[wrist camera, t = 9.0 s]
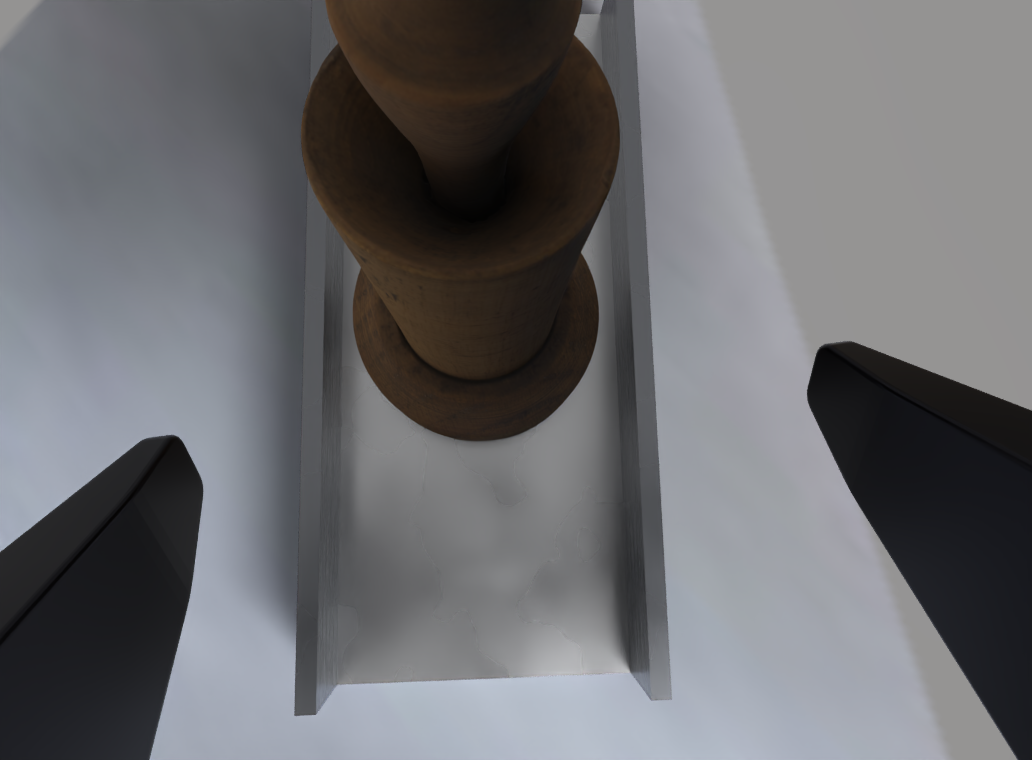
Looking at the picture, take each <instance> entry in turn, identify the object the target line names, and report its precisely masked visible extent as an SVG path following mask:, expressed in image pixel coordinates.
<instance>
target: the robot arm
mask: <svg viewBox="0 0 1032 760" xmlns="http://www.w3.org/2000/svg"><path fill="white" fill-rule="evenodd" d="M807 399H808V403H809V406H810V409H811V411H812V413H813V415H814V417H815V419H816V421H817V423H818V426H819V428H820V430H821V432H822V434H823V436H824V438H825V440H826V442H827V444H828V446H829V449H830V451H831V453H832V455H833V457H834V459H835V461H836V463H837V465H838V467H839V470H840V472H841V474H842V476H843V478H844V480H845V482H846V484H847V485H848V487H849V489H850V491H851V493H852V495H853V496H854V498H855V500H856V501H857V503H858V505H859V507H860V508H861V510H862V511H863V513H864V515H865V516H866V518H867V519H868V521H869V523H870V524H871V526H872V527H873V529H874V531H875V532H876V534H877V535H878V537H879V538H880V540H881V542H882V543H883V545H884V547H885V548H886V550H887V551H888V553H889V555H890V556H891V558H892V559H893V561H894V562H895V564H896V566H897V567H898V569H899V571H900V572H901V574H902V575H903V577H904V579H905V580H906V582H907V583H908V585H909V587H910V588H911V590H912V591H913V593H914V595H915V596H916V598H917V599H918V601H919V603H920V604H921V606H922V607H923V609H924V611H925V612H926V614H927V615H928V617H929V618H930V620H931V622H932V623H933V625H934V627H935V628H936V630H937V631H938V633H939V635H940V636H941V638H942V640H943V641H944V643H945V644H946V646H947V648H948V649H949V651H950V652H951V654H952V655H953V657H954V659H955V660H956V662H957V663H958V665H959V667H960V668H961V670H962V672H963V673H964V675H965V676H966V678H967V680H968V681H969V683H970V684H971V686H972V688H973V689H974V691H975V692H976V694H977V695H978V697H979V699H980V700H981V702H982V704H983V705H984V707H985V708H986V710H987V712H988V713H989V715H990V716H991V718H992V720H993V721H994V723H995V724H996V726H997V728H998V729H999V731H1000V732H1001V734H1002V736H1003V737H1004V739H1005V740H1006V742H1007V743H1008V745H1009V746H1010V748H1011V750H1012V752H1013V753H1014V755H1015V756H1016V758H1017V760H1032V411H1031V410H1029V409H1026V408H1024V407H1021V406H1018V405H1016V404H1013V403H1011V402H1008V401H1006V400H1003V399H1000V398H998V397H995V396H992V395H990V394H987V393H985V392H982V391H980V390H977V389H974V388H972V387H969V386H967V385H964V384H961V383H959V382H956V381H954V380H951V379H948V378H946V377H943V376H940V375H938V374H936V373H932V372H930V371H928V370H925V369H922V368H920V367H917V366H914V365H912V364H910V363H907V362H904V361H902V360H899V359H897V358H894V357H891V356H889V355H886V354H884V353H881V352H878V351H876V350H873V349H871V348H868V347H866V346H863V345H860V344H858V343H855V342H852V341H843V342H836V343H829V344H824V345H823V346H821V347H820V348H819V349H818V351H817V354H816V357H815V361H814V365H813V369H812V373H811V377H810V381H809V385H808V389H807ZM202 500H203V484H202V480H201V477H200V475H199V473H198V471H197V469H196V467H195V465H194V463H193V461H192V459H191V457H190V455H189V453H188V451H187V449H186V447H185V445H184V443H183V442H182V440H181V439H180V438H179V437H177V436H175V435H166V436H159V437H152V438H146V439H144V440H142V441H140V442H139V443H138V444H136V445H135V446H134V447H133V448H131V449H130V450H129V451H128V452H126V453H125V454H124V455H122V456H121V457H120V458H119V459H117V460H116V461H115V462H114V463H112V464H111V465H110V466H109V467H107V468H106V469H105V470H103V471H102V472H101V473H100V474H98V475H97V476H96V477H95V478H93V479H92V480H91V481H90V482H88V483H87V484H86V485H85V486H83V487H82V488H81V489H79V490H78V491H77V492H76V493H74V494H73V495H72V496H71V497H69V498H68V499H67V500H66V501H64V502H63V503H62V504H60V505H59V506H58V507H57V508H55V509H54V510H53V511H52V512H50V513H49V514H48V515H47V516H45V517H44V518H43V519H42V520H40V521H39V522H38V523H36V524H35V525H34V526H33V527H31V528H30V529H29V530H28V531H26V532H25V533H24V534H23V535H21V536H20V537H19V538H17V539H16V540H15V541H14V542H12V543H11V544H10V545H9V546H7V547H6V548H5V549H4V550H2V551H1V552H0V760H149V759H150V755H151V751H152V747H153V743H154V739H155V735H156V731H157V727H158V723H159V719H160V715H161V711H162V707H163V703H164V699H165V695H166V691H167V687H168V683H169V679H170V675H171V671H172V667H173V663H174V659H175V655H176V651H177V647H178V643H179V639H180V635H181V631H182V627H183V623H184V619H185V615H186V611H187V607H188V602H189V598H190V593H191V586H192V580H193V573H194V565H195V557H196V549H197V541H198V532H199V524H200V516H201V508H202Z"/></svg>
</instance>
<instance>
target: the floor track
mask: <svg viewBox="0 0 1032 760" xmlns="http://www.w3.org/2000/svg"><path fill="white" fill-rule="evenodd" d="M574 35H575V36H576V37H577V38H578V39H579V40H580V41H581V42H582V43H583V44H584V46H585V47H586V48H587V49H588V50H589V51H590V52H591V54H592V55H593V56H594V58H595V59H596V61H597V62H598V64H599V66H600V67H601V69H602V71H603V73H604V75H605V77H606V79H607V81H608V83H609V85H610V88H611V91H612V93H613V96H614V99H615V103H616V108H617V112H618V118H619V127H620V150H619V158H618V163H617V168H616V172H615V176H614V179H613V182H612V185H611V188H610V191H609V193H608V195H607V198H606V200H605V202H604V205H603V207H602V209H601V211H600V213H599V216H598V218H597V220H596V222H595V224H594V226H593V228H592V230H591V233H590V235H589V237H588V239H587V241H586V243H585V245H584V247H583V249H582V251H581V253H582V255H583V256H584V258H585V260H586V262H587V264H588V266H589V269H590V271H591V274H592V276H593V280H594V283H595V287H596V291H597V297H598V304H599V327H598V335H597V341H596V345H595V349H594V352H593V355H592V358H591V361H590V363H589V365H588V367H587V370H586V372H585V373H584V375H583V377H582V379H581V380H580V382H579V383H578V385H577V386H576V388H575V389H574V390H573V392H572V393H571V394H570V395H569V397H568V398H567V399H566V400H565V401H564V402H563V404H562V405H561V406H560V407H559V408H558V409H557V410H556V411H555V412H554V413H553V414H552V415H550V416H549V417H548V418H547V419H545V420H544V421H543V422H541V423H540V424H538V425H536V426H535V427H533V428H531V429H529V430H527V431H525V432H523V433H520V434H518V435H515V436H512V437H508V438H504V439H499V440H492V441H465V440H458V439H454V438H450V437H446V436H443V435H440V434H437V433H435V432H432V431H430V430H428V429H426V428H424V427H422V426H421V425H419V424H417V423H416V422H414V421H413V420H411V419H410V418H409V417H407V416H406V415H405V414H403V413H402V412H401V411H400V410H399V409H397V408H396V407H395V406H394V405H393V404H392V403H391V402H390V401H389V400H388V399H387V398H386V397H385V396H384V395H383V394H382V393H381V391H380V390H379V389H378V387H377V386H376V385H375V383H374V382H373V380H372V379H371V377H370V375H369V374H368V372H367V370H366V368H365V366H364V364H363V361H362V359H361V356H360V354H359V351H358V348H357V344H356V340H355V335H354V328H353V297H354V291H355V286H356V282H357V278H358V274H359V271H360V269H361V267H360V265H359V263H358V262H357V260H356V259H355V257H354V256H353V254H352V253H351V251H350V250H349V248H348V247H347V245H346V244H345V242H344V241H343V239H342V237H341V236H340V235H339V233H338V232H337V230H336V228H335V227H334V225H333V224H332V222H331V221H330V219H329V218H328V216H327V215H326V213H325V211H324V210H323V208H322V207H321V205H320V203H319V201H318V200H317V198H316V196H315V194H314V192H313V189H312V187H311V185H310V182H309V179H307V220H306V261H305V302H304V343H303V385H302V426H301V467H300V508H299V549H298V591H297V632H296V673H295V714H294V716H300V715H316V714H317V713H318V711H319V710H320V708H321V707H322V706H323V704H324V703H325V701H326V700H327V698H328V697H329V696H330V694H331V693H332V691H333V690H334V688H335V687H336V685H342V684H367V683H392V682H417V681H442V680H466V679H491V678H516V677H541V676H566V675H590V674H615V673H631V674H632V675H633V676H634V678H635V679H636V680H637V682H638V683H639V684H640V686H641V687H642V688H643V690H644V691H645V693H646V694H647V695H648V697H649V698H650V699H651V701H652V700H672V694H671V676H670V657H669V639H668V621H667V603H666V584H665V566H664V548H663V530H662V511H661V493H660V475H659V457H658V438H657V420H656V402H655V384H654V365H653V347H652V329H651V311H650V292H649V274H648V256H647V238H646V219H645V201H644V183H643V165H642V146H641V128H640V110H639V92H638V73H637V55H636V37H635V19H634V0H604V2H603V6H602V10H601V14H580V16H579V20H578V23H577V27H576V30H575V33H574ZM337 44H338V42H337V40H336V38H335V35H334V33H333V30H332V28H331V25H330V22H329V19H328V14H327V9H326V3H325V0H312V14H311V55H310V88H311V85H312V83H313V80H314V79H315V77H316V75H317V73H318V71H319V69H320V66H321V65H322V63H323V61H324V60H325V58H326V57H327V56H328V54H329V53H330V52H331V51H332V49H333V48H334V47H335V46H336V45H337Z"/></svg>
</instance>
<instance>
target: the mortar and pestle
mask: <svg viewBox="0 0 1032 760" xmlns="http://www.w3.org/2000/svg"><path fill="white" fill-rule="evenodd" d="M325 3H326V9H327V14H328V19H329V22H330V25H331V28H332V30H333V33H334V35H335V38H336V40H337V42H338V44H337V45H336V46H335V47H334V48H333V49H332V51H331V52H330V53H329V54H328V56H327V57H326V58H325V60H324V61H323V63H322V65H321V66H320V69H319V71H318V73H317V75H316V77H315V79H314V80H313V83H312V85H311V88H310V90H309V93H308V96H307V99H306V102H305V107H304V111H303V117H302V125H301V144H302V154H303V160H304V165H305V169H306V173H307V176H308V179H309V182H310V185H311V187H312V189H313V192H314V194H315V196H316V198H317V200H318V201H319V203H320V205H321V207H322V208H323V210H324V211H325V213H326V215H327V216H328V218H329V219H330V221H331V222H332V224H333V225H334V227H335V228H336V230H337V232H338V233H339V235H340V236H341V237H342V239H343V241H344V242H345V244H346V245H347V247H348V248H349V250H350V251H351V253H352V254H353V256H354V257H355V259H356V260H357V262H358V263H359V265H360V267H361V269H360V271H359V274H358V278H357V282H356V286H355V291H354V297H353V328H354V335H355V340H356V344H357V348H358V351H359V354H360V356H361V359H362V361H363V364H364V366H365V368H366V370H367V372H368V374H369V375H370V377H371V379H372V380H373V382H374V383H375V385H376V386H377V387H378V389H379V390H380V391H381V393H382V394H383V395H384V396H385V397H386V398H387V399H388V400H389V401H390V402H391V403H392V404H393V405H394V406H395V407H396V408H397V409H399V410H400V411H401V412H402V413H403V414H405V415H406V416H407V417H409V418H410V419H411V420H413V421H414V422H416V423H417V424H419V425H421V426H422V427H424V428H426V429H428V430H430V431H432V432H435V433H437V434H440V435H443V436H446V437H450V438H454V439H458V440H465V441H492V440H499V439H504V438H508V437H512V436H515V435H518V434H520V433H523V432H525V431H527V430H529V429H531V428H533V427H535V426H536V425H538V424H540V423H541V422H543V421H544V420H545V419H547V418H548V417H549V416H550V415H552V414H553V413H554V412H555V411H556V410H557V409H558V408H559V407H560V406H561V405H562V404H563V402H564V401H565V400H566V399H567V398H568V397H569V395H570V394H571V393H572V392H573V390H574V389H575V388H576V386H577V385H578V383H579V382H580V380H581V379H582V377H583V375H584V373H585V372H586V370H587V367H588V365H589V363H590V361H591V358H592V355H593V352H594V349H595V345H596V341H597V335H598V327H599V304H598V297H597V291H596V287H595V283H594V280H593V276H592V274H591V271H590V269H589V266H588V264H587V262H586V260H585V258H584V256H583V255H582V253H581V251H582V249H583V247H584V245H585V243H586V241H587V239H588V237H589V235H590V233H591V230H592V228H593V226H594V224H595V222H596V220H597V218H598V216H599V213H600V211H601V209H602V207H603V205H604V202H605V200H606V198H607V195H608V193H609V191H610V188H611V185H612V182H613V179H614V176H615V172H616V168H617V163H618V158H619V150H620V127H619V118H618V112H617V108H616V103H615V99H614V96H613V93H612V91H611V88H610V85H609V83H608V81H607V79H606V77H605V75H604V73H603V71H602V69H601V67H600V66H599V64H598V62H597V61H596V59H595V58H594V56H593V55H592V54H591V52H590V51H589V50H588V49H587V48H586V47H585V46H584V44H583V43H582V42H581V41H580V40H579V39H578V38H577V37H576V36H575V35H574V33H575V30H576V27H577V23H578V20H579V16H580V12H581V6H582V0H325Z"/></svg>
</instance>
